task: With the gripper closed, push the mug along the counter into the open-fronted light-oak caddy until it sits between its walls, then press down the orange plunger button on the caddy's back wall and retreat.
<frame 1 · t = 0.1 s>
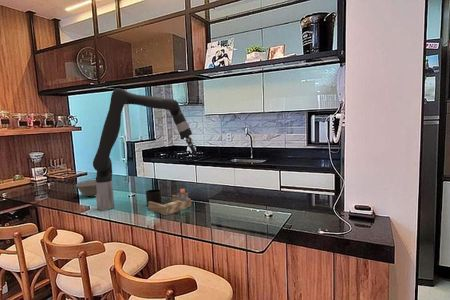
hand: (194, 152, 186), 31 cm above the counter, tool tilted 20°, fingers open, 8 cm apart
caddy: (170, 208, 175), on the counter
button: (182, 192, 173), point 10 cm above the counter, slide at 0.0 cm
mug: (155, 204, 185), on the counter
ceramic bowl: (93, 195, 216), on the counter
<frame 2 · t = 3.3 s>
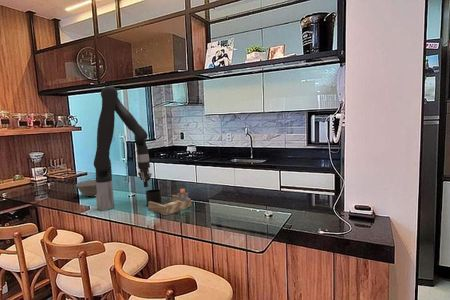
hand: (145, 186, 191), 10 cm above the counter, tool pointing down, fingers closed
nothing on the counter moved.
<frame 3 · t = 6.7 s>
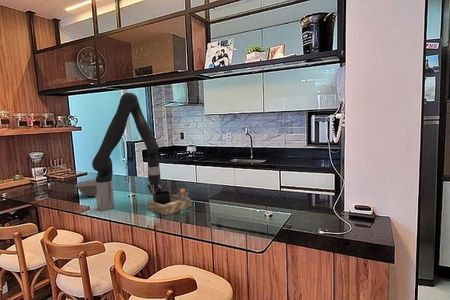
hand: (155, 200, 185), 3 cm above the counter, tool pointing down, fingers closed
mug: (164, 206, 179), on the counter, touching hand
everything else where it was.
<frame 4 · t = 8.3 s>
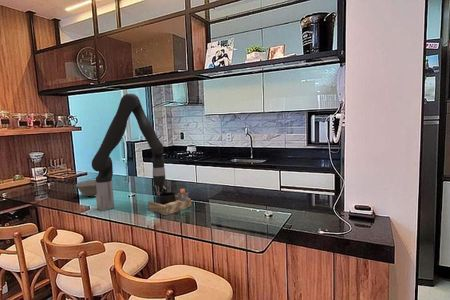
hand: (160, 201, 181), 3 cm above the counter, tool pointing down, fingers closed
mug: (169, 208, 175), on the counter, touching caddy, hand
everything else where it was.
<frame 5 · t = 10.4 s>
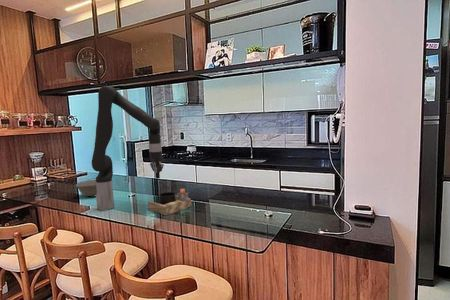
hand: (157, 178, 181), 17 cm above the counter, tool pointing down, fingers closed
mug: (169, 208, 175), on the counter
everything else where it was.
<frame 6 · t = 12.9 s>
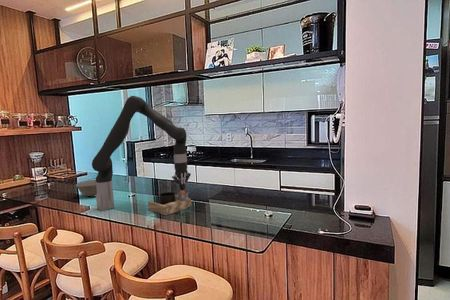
hand: (182, 190, 173), 11 cm above the counter, tool pointing down, fingers closed
button: (182, 193, 173), point 9 cm above the counter, slide at 0.5 cm, touching gripper
everything else where it was.
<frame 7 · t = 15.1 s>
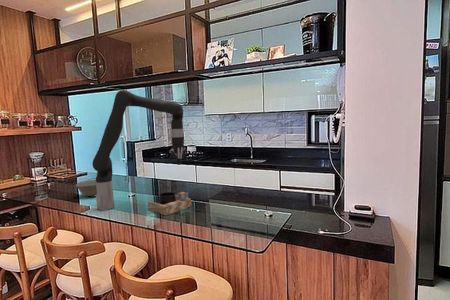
hand: (179, 164, 178), 26 cm above the counter, tool pointing down, fingers closed
button: (182, 195, 174), point 8 cm above the counter, slide at 1.9 cm
everything else where it was.
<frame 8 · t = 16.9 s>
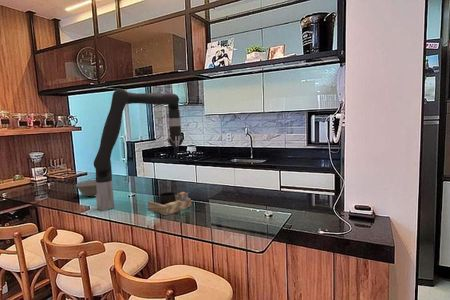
hand: (176, 152, 189), 32 cm above the counter, tool pointing down, fingers closed
nothing on the counter moved.
at the end: mug inside the target area (0.6 cm from its centre), on the counter; mug tilted 0°; button slide at 1.9 cm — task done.
